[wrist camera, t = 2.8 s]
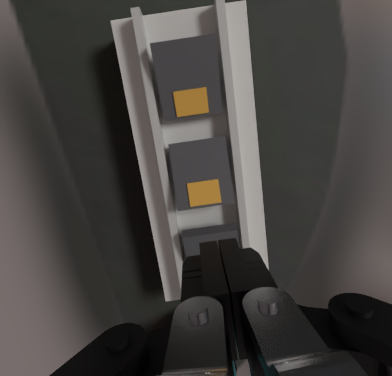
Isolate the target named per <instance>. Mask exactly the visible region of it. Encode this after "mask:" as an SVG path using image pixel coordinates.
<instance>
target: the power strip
mask: <svg viewBox="0 0 392 376" xmlns="http://www.w3.org/2000/svg"><path fill="white" fill-rule="evenodd" d="M130 9H131V14H132V17H131V18H125V19H118V20H112V21H111V25H112V30H113V35H114V41H115V46H116V51H117V56H118V61H119V66H120V71H121V76H122V81H123V86H124V91H125V96H126V102H127V107H128V112H129V117H130V122H131V127H132V132H133V137H134V142H135V147H136V152H137V157H138V163H139V168H140V173H141V178H142V183H143V188H144V193H145V198H146V203H147V208H148V213H149V218H150V223H151V229H152V234H153V239H154V244H155V249H156V254H157V259H158V264H159V269H160V274H161V279H162V284H163V290H164V295H165V300H166V301H172V300H179V299H181V283H182V264H183V262H184V261H185V260H186V254H185V249H184V244H183V239H182V230H187V229H194V228H201V227H208V226H215V225H222V224H229V223H236V226H237V229H238V240H239V247H240V249H243V248H250V247H251V248H252V249H254V250H255V251H257V252H258V253H259V254H260V256H261V257H262V259H263V262H264V263H265V265H266V267H267V268H268V270H269V267H268V256H267V244H266V232H265V220H264V208H263V197H262V185H261V173H260V161H259V149H258V138H257V126H256V114H255V102H254V90H253V79H252V67H251V55H250V43H249V31H248V20H247V8H246V0H244V1H237V2H231V3H225V0H214V4H213V5H211V6H204V7H198V8H191V9H184V10H178V11H171V12H165V13H158V14H151V15H145V16H143V15H142V12H141V10H140V8H139V7H136V8H130ZM215 33H216V41H217V54H218V66H219V78H220V90H221V103H222V113H218V114H211V115H205V116H198V117H191V118H184V119H178V120H171V121H164V116H163V111H162V106H161V101H160V95H159V90H158V85H157V80H156V74H155V69H154V64H153V59H152V53H151V48H150V43H155V42H162V41H168V40H175V39H182V38H188V37H195V36H202V35H208V34H215ZM221 136H225V140H226V146H227V153H228V160H229V167H230V174H231V180H232V187H233V194H234V201H235V203H232V204H225V205H218V206H211V207H204V208H197V209H190V210H183V211H178V209H177V202H176V195H175V188H174V181H173V174H172V167H171V160H170V153H169V146H168V144H173V143H180V142H187V141H194V140H201V139H208V138H214V137H221Z"/></svg>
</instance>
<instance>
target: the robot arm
mask: <svg viewBox="0 0 392 376" xmlns="http://www.w3.org/2000/svg"><path fill="white" fill-rule="evenodd" d="M218 246H219V249H218ZM199 247H200V255H195V256H188V257H187V258H186V260H185V261H184V262H183V264H182V283H181V302H180V304H179V305H178V307H177V308H176V309H175V311H174V314H173V319H172V321H171V322H170V323H169V324H167V325H165V326H164V327H162V328H160V329H157V330H155V331H152V332H150V333H147V334H145V331H144V329H143V328H142V327H141V326H140V325H137V324H134V323H124V324H119V325H116V326H114V327H112V328H110V329H108V330H107V331H105V332H104V333H102V334H101V335H100V336H98V337H97V338H96V339H95V340H93V341H92V342H91V343H90V344H88V345H87V346H86V347H85V348H83V349H82V350H81V351H80V352H78V353H77V354H76V355H75V356H73V357H72V358H71V359H70V360H68V361H67V362H66V363H65V364H64V365H62V366H61V367H60V368H59V369H57V370H56V371H55V372H53V373H52V374H51V375H50V376H234V369H233V362H232V361H235V360H238V359H237V351H236V344H237V349H238V353H239V358H240V360H242V359H248V362H249V366H250V372H251V376H392V304H389V303H386V302H383V301H380V300H378V299H375V298H372V297H369V296H366V295H362V294H357V293H343V294H339V295H336V296H334V297H333V298H332V299H330V301H329V304H328V309H322V308H312V307H305V306H301V305H298V304H296V303H295V301H294V300H293V299H292V297H291V296H290V295H289V294H288V293H286V292H284V291H282V290H280V289H278V287H277V285H276V283H275V281H274V279H273V278H272V276H271V274H270V272H269V270H268V268H267V267H266V265H265V263H264V262H263V259H262V257H261V256H260V254H259V253H258V252H257V251H255V250H254V249H252V248H251V247H250V248H243V249H240V247H239V245H238V242H237V240H236V238H228V239H221V240H218V244H217V240H215V241H208V242H201V243H199ZM234 335H235V336H234ZM235 339H236V343H235Z"/></svg>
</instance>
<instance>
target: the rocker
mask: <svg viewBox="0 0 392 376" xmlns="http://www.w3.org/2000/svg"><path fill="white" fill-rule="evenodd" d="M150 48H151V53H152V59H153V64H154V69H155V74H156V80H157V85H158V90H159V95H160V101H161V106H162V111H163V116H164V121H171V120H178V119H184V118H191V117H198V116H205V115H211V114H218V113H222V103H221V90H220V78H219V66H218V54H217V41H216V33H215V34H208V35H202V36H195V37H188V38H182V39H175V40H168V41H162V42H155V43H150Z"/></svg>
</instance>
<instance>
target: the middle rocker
mask: <svg viewBox="0 0 392 376" xmlns="http://www.w3.org/2000/svg"><path fill="white" fill-rule="evenodd" d="M168 146H169V153H170V160H171V167H172V174H173V181H174V188H175V195H176V202H177V209H178V211H183V210H190V209H197V208H204V207H211V206H218V205H225V204H232V203H235V201H234V194H233V187H232V180H231V174H230V167H229V160H228V153H227V146H226V140H225V136H221V137H214V138H208V139H201V140H194V141H187V142H180V143H173V144H168Z"/></svg>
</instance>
